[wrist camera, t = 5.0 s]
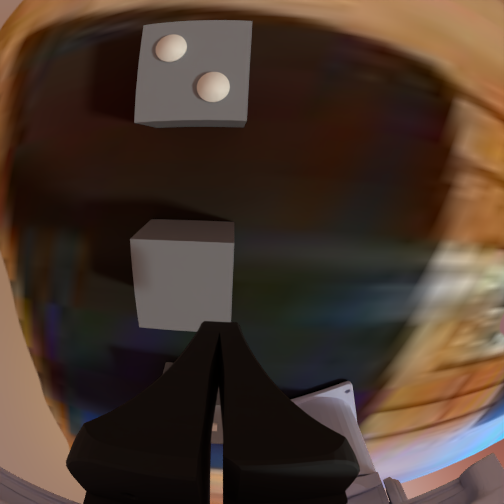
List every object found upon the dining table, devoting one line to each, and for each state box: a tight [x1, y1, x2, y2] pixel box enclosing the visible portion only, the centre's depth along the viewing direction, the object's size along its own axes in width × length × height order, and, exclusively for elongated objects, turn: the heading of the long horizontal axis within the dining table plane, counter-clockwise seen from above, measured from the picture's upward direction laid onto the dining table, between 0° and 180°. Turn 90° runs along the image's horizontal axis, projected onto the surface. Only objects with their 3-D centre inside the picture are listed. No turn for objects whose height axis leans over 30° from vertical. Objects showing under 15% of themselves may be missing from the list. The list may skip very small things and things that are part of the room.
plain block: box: [130, 219, 234, 332], centre depth 16 cm, size 5×5×4 cm
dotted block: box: [134, 20, 252, 128], centre depth 12 cm, size 5×5×4 cm
